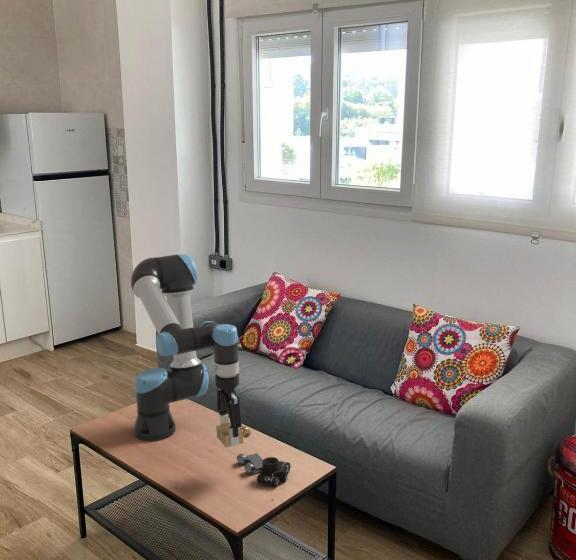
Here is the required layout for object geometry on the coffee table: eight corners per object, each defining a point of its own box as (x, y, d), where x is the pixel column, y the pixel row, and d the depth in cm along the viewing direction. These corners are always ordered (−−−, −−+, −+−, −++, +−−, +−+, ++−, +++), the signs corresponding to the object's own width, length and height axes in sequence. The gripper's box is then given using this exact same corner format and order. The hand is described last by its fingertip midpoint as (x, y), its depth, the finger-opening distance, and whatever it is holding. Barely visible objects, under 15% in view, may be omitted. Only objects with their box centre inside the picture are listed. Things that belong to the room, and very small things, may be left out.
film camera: (270, 447, 215) (294, 449, 209) (276, 468, 216) (300, 470, 210) (246, 467, 204) (270, 469, 198) (252, 489, 205) (276, 491, 199)
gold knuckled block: (244, 430, 214) (244, 419, 213) (254, 440, 207) (253, 428, 206) (217, 437, 210) (216, 425, 209) (225, 447, 203) (225, 436, 202)
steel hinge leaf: (257, 457, 219) (256, 449, 219) (268, 469, 211) (268, 461, 211) (236, 462, 216) (236, 454, 216) (247, 475, 208) (247, 467, 208)
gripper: (204, 364, 210) (208, 428, 215) (227, 387, 191) (231, 456, 197) (226, 360, 213) (229, 423, 218) (251, 382, 195) (253, 450, 200)
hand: (229, 439), depth 208 cm, fingers closed on gold knuckled block, 8 cm apart
